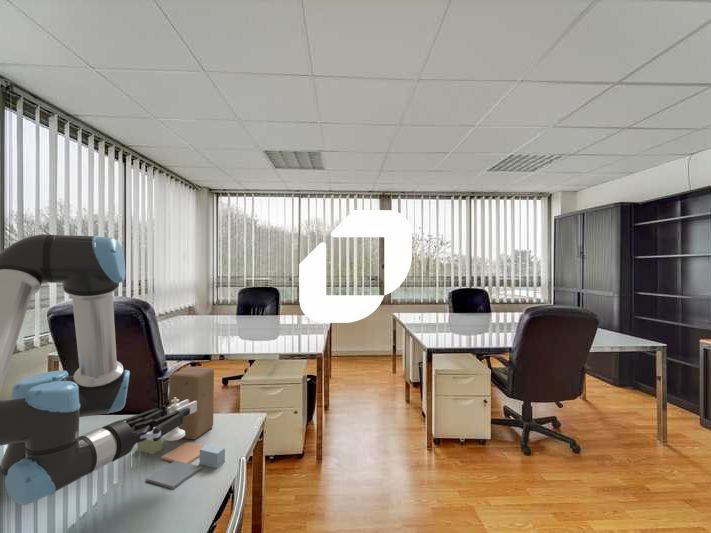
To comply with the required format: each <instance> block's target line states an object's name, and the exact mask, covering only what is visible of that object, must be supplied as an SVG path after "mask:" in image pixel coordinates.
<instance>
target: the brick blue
mask: <svg viewBox="0 0 711 533" xmlns="http://www.w3.org/2000/svg"><path fill="white" fill-rule="evenodd" d="M203 446H204V447H203V448H201V449H200V457H199V458H198V459H199V464H200V465H204V466H207V467H211V468H215V469H218V468H219V467H221V466H222V465H223V464H225V462H226V460H225V458H226V454H225V453H226V448H224V447H221V446H216V445H212V444H206V445H203Z"/></svg>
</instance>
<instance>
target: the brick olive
mask: <svg viewBox="0 0 711 533" xmlns="http://www.w3.org/2000/svg"><path fill="white" fill-rule="evenodd" d="M162 437H163V436H162ZM162 437H161V438H160V439H159V440H158V441H153V438H147V439H146V440H145V441H142V442H139V443H136V444H137V448H136V449H137V451H139V452H143V453H147V454H151V455H154V454H155V453H158V452H159V451H161V450H162V444H163V443H162V439H163V438H162Z"/></svg>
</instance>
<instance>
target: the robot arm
mask: <svg viewBox="0 0 711 533" xmlns="http://www.w3.org/2000/svg"><path fill="white" fill-rule="evenodd" d="M125 279H126V262H125V255H124V252H123V248H122V246H121V244H120V242H119V241H118V240H117V239H116V238H113V237H106V236H99V235H94V236H92V235H70V234H69V235H68V234H67V235H66V234H47V233H44V234H43V233H42V234H35V235H34V234H33V235H30V236H28V237H24V238H22V239H20V240H18V241H16V242H13V243H12V244H10V245H8V247H6V248H5V249H3V250H1V252H0V393H1V392H2V389H3V385H4V382H5V379H6V376H7V373H8V370H9V367H10V364H11V361H12V357H13V354H14V352H15V348H16V345H17V342H18V339H19V336H20V333H21V330H22V327H23V323H24V319H25V318H26V314H27V311H28V308H29V304H30V302H31V298H32V296H33V295H36V294H38V292H40V289H41V285H43V284H46V283H53V284H55V283H57V284H58V283H62V286H63V291H64V293H65V294H66V295H69V296H71V298H72V299H71V300H72V307H73V308H72V309H73V318H74V328H75V338H76V346H77V358H78V365H79V368H77V370H76V371H75V372H74V373H73V375H69V373H68V371H67V370H59V369H58V370H54V371H53V370H52V371H48V372H47V371H46V372H42V373H38V374H35V375H31V376H28V377H25V378H23V379H21V380H19V381H17V382H16V383H15V384H14V385H13V387H12V388H11V398H10V399H5V400H0V446H1V447H2V446H6V445H7V447H6V449H5V452H4V455H3V457H2V459H1V462H0V472H1V473H2V474H4V475H5V480H4V482H5V484H4V485H5V488H6V489H5V491H6V492H7V495H8V497H9V499H10V500H11V501H12V502H13V503H15V504H18V505H20V506H27V505H30V504H33V503H34V502H36V501H39V500H41V499H43V498H45V497H49V496H51V495H53V494H54V493H55V494H56V492H57V491H59V490H61V489H63V488H64V487H66V486H68V485H71V484H72V483H75V482H76V481H78V480H80V479H81V478H84V477H86V476H88V475H90V474H94V472H96V471H97V470H99V469H101V468H103V467H105V466H107V465H109V464H110V463H113V462H115V461H118V460H119V459H122V458H123V457H124V456H127V455H128V454H130V453H131V451H132V450H133V448H134V446H135V445H136V444H137V443H139V442H142V441H145V440H146V439H147V438H153V441H158V440H159V439H160V438H161V437H164V435H165V434H167V433H168V432H170V431H172V430H173V429H175V428H177V427H178V426H180V425H181V424H183V418H184V417H186V416H188V415H190V414H192V413H194V412H196V411H197V401H193V402H191V403H189V400H188V399H186V400H184V401H182V402H179V403H177V404H179V408H178V409H175V412H172V409H171V406H170V407H169V406H168V407H166V405H164V404H163V405H161V406H160V409H159V407H158V408H157V407H155V408H152V409H150V410H147V411H144V412H141V413H139V414H135V415H133V416H130V417H126V418H124V419H120V420H117V421H114V422H112V423H111V422H110V423H109V424H107V425H104V426H102V427H99V428H96V429H93V430H92V431H89V432H87V433H85V434H83V435H79V434H80V418H84V417H91V416H97V415H99V416H100V415H108V414H110V413H116V412H119V411H122V410H123V408H124V407H125V405H126V401H127V400H126V399H127V394H128V388H129V382H130V375H131V372H130V370H128V369H124V366H123V364H122V363H121V362H120V361H118V360H117V358H118V357H117V344H116V327H115V310H114V293H115V292H116V290H118V289H119V288H120V283H123V282H124V281H125Z"/></svg>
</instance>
